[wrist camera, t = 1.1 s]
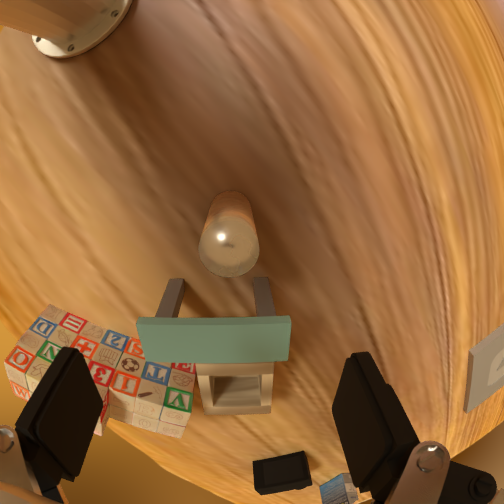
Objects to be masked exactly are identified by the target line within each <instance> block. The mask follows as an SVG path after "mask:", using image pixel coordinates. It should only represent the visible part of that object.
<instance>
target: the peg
mask: <svg viewBox="0 0 504 504" xmlns="http://www.w3.org/2000/svg"><path fill="white" fill-rule="evenodd" d="M198 251H199V256H200V259H201V262H202V263H203V265H204V266H205V267H206V268H207V269H208V270H209V271H210V272H212V273H213V274H215V275H218V276H221V277H226V278H232V277H238V276H241V275H243V274H245V273H247V272H248V271H249V270H251V268H252V267H253V266H254V265H255V263H256V262H257V259H258V257H259V242H258V237H257V233H256V228H255V223H254V219H253V214H252V209H251V205H250V202H249V201H248V199H247V198H246V197H245V196H244V195H243V194H241V193H239V192H236V191H225V192H222V193H220V194H219V195H217V196H216V197H215V198H214V200H213V201H212V203H211V206H210V210H209V213H208V216H207V219H206V222H205V226H204V229H203V232H202V235H201V239H200V242H199V247H198Z"/></svg>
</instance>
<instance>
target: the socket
mask: <svg viewBox="0 0 504 504" xmlns="http://www.w3.org/2000/svg"><path fill="white" fill-rule="evenodd" d="M195 365H196V371H197V377H198V383H199V388H200V394H201V399H202V405H203V410H204V415H245V414H267V413H271V401H272V388H273V374H274V362H255V363H195Z"/></svg>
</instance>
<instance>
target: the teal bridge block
mask: <svg viewBox="0 0 504 504" xmlns="http://www.w3.org/2000/svg"><path fill="white" fill-rule="evenodd" d="M184 292H185V289H184V280H183V279H170V280H169V282H168V285H167V287H166V290H165V292H164V295H163V297H162V300H161V303H160V305H159V308H158V311H157V313H156V316H155V317H139V318H138V320H137V323H136V327H137V331H138V334H139V338H140V342H141V346H142V349H143V353H144V356H145V360H146V361H148V362H168V363H255V362H276V361H288V354H289V344H290V334H291V319H290V316H289V315H288V316H276V312H275V307H274V303H273V298H272V294H271V289H270V285H269V280H268V277H257V278H254V297H255V305H256V313H257V317H228V318H177V317H178V314H179V310H180V306H181V303H182V299H183V295H184Z"/></svg>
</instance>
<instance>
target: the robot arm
mask: <svg viewBox="0 0 504 504" xmlns="http://www.w3.org/2000/svg"><path fill="white" fill-rule="evenodd" d="M131 3H132V0H0V25H3V26H7V27H10V28H13V29H16V30H19V31H22V32H25V33H28V34H31V35H32V39H33V42H34V45H35V46H36V48H37V49H38V50H39V51H40V52H41V53H43V54H44V55H47V56H50V57H54V58H69V57H73V56H77V55H79V54H81V53H84V52H86V51H88V50H90V49H91V48H93V47H95V46H96V45H98V44H99V43H100V42H101V41H103V40H104V39H105V38H106V37H107V36H108V35H110V34H111V33H112V32H113V31H114V30H115V28H116V27H117V26H118V25H119V24H120V22H121V21H122V20H123V18H124V17H125V15H126V13H127V12H128V10H129V8H130V5H131ZM102 409H103V400H102V398H101V396H100V394H99V391H98V389H97V387H96V385H95V382H94V380H93V378H92V375H91V373H90V370H89V368H88V366H87V363H86V360H85V358H84V355H83V354H82V353H80V351H79V350H78V349H77V348H72V347H66V346H64V347H62V348H61V349H60V351H59V352H58V354H57V355H56V357H55V358H54V360H53V362H52V363H51V365H50V366H49V368H48V369H47V371H46V372H45V374H44V376H43V377H42V379H41V380H40V382H39V384H38V385H37V387H36V389H35V390H34V392H33V394H32V395H31V397H30V399H29V400H28V402H27V404H26V406H25V407H24V409H23V411H22V413H21V415H20V416H19V418H18V420H17V422H16V423H15V426H16V428H15V430H14V429H13V428H12V427H10V426H7V425H0V504H69V503H68V501H67V499H66V497H65V494H64V492H63V490H62V488H61V485H60V480H61V478H63V479H66V480H69V481H72V482H74V479H75V477H77V476H78V475H79V474H80V471H81V468H82V465H83V462H84V459H85V456H86V453H87V450H88V447H89V444H90V441H91V439H92V436H93V433H94V431H95V428H96V425H97V423H98V420H99V417H100V415H101V412H102ZM332 414H333V417H334V420H335V424H336V427H337V430H338V434H339V437H340V441H341V444H342V447H343V451H344V454H345V458H346V461H347V464H348V468H349V471H350V475H351V478H352V482H353V485H354V487H355V488H357V487H359V490H360V493H364V492H368V491H370V492H371V495H372V498H373V501H372V502H371V504H504V489H502V488H501V489H500V490H497V486H496V481H495V479H494V477H493V476H492V475H491V474H489V473H487V472H484V471H480V470H477V469H474V468H471V467H468V466H465V465H462V464H459V463H456V462H453V461H450V455H449V452H448V450H447V449H446V447H444V446H443V445H442V444H440V443H438V442H435V441H424V442H422V443H420V441H419V439H418V437H417V435H416V433H415V431H414V429H413V427H412V425H411V423H410V421H409V419H408V417H407V415H406V413H405V411H404V409H403V407H402V405H401V403H400V401H399V399H398V397H397V395H396V393H395V392H394V390H393V388H392V387H391V385H389V384H386V383H385V381H384V379H383V377H382V375H381V373H380V371H379V369H378V367H377V366H376V364H375V362H374V360H373V358H372V356H371V354H370V353H369V352H359V353H352V355H351V357H350V358H347V359H346V362H345V365H344V369H343V372H342V376H341V379H340V383H339V386H338V389H337V393H336V396H335V399H334V402H333V405H332Z"/></svg>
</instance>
